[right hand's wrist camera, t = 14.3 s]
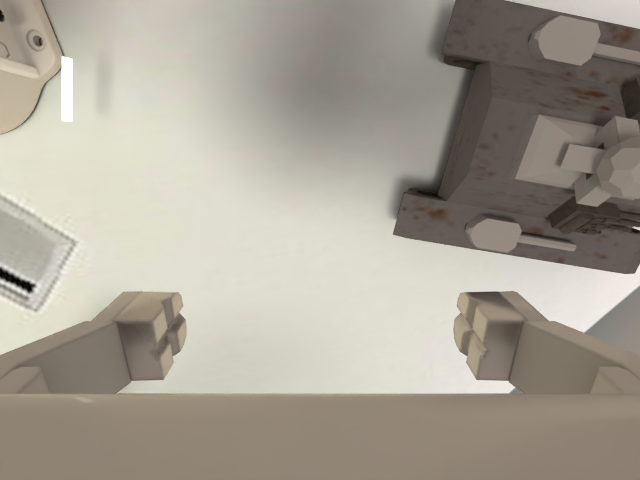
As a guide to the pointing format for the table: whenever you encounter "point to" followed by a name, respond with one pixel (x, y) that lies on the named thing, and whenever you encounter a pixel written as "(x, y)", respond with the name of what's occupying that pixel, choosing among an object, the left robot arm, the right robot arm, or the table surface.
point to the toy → (539, 140)
